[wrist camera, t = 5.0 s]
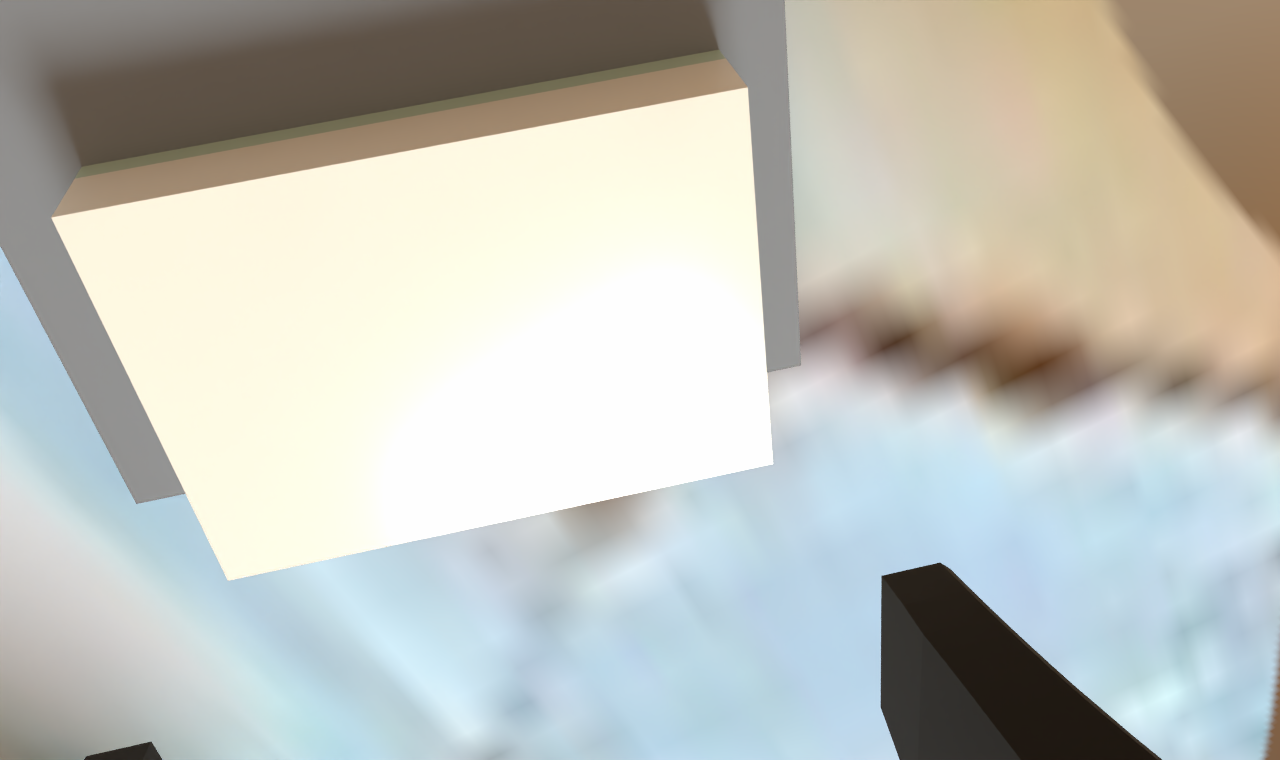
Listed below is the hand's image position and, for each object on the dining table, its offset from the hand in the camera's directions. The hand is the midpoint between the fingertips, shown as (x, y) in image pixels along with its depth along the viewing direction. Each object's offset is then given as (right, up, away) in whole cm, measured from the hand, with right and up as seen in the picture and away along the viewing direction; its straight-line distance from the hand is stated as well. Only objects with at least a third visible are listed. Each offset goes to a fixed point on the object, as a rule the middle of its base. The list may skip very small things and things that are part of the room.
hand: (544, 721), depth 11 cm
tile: (-1, +2, +7) cm, 8 cm away
